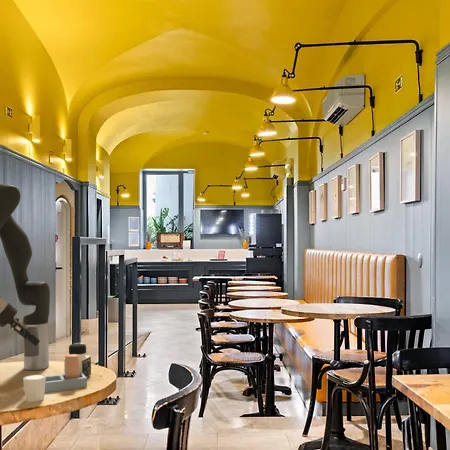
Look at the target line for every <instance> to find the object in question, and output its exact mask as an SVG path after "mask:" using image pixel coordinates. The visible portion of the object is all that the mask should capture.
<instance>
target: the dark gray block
mask: <svg viewBox="0 0 450 450" xmlns="http://www.w3.org/2000/svg"><path fill="white" fill-rule="evenodd" d="M26 327H27V328H28V331H30V332H31V333H32V334H33V335H34V336H35V337H36V338H37V339H39V335H38V325H28V326H26ZM26 334H27V332H25V333H24V335H26ZM37 355H39V343H38V344H37V345H36V346H35V345H34V344H32V343H31V342H30V341H29V340H28V339H24V338H23V357H24V356H26V357H33V356H37Z"/></svg>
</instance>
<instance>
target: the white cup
mask: <svg viewBox="0 0 450 450" xmlns="http://www.w3.org/2000/svg"><path fill="white" fill-rule="evenodd" d="M46 376H47V375H46V374H45V375H44V374H30V375H26V376H24V377H23V378H22V380H23V390H24V397H25V401H26V402H28V403H29V402H31V403H33V402H40V401H43V400H44V399H45V393H46V392H45V380H46Z"/></svg>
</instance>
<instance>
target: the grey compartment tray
mask: <svg viewBox="0 0 450 450" xmlns="http://www.w3.org/2000/svg"><path fill="white" fill-rule="evenodd" d="M64 360H65V374H64V373H61V374H55V375H53V374H52V375H45V376H46V380H45V393H48V392H56V391H63V390H65V391H66V390H72V389H81V388H82V389H83V388H87V387H88V377H86V376H85V375H84V374H83V373H82V372H80V355H77V354H71V355H69V354H66V355H65V356H64Z"/></svg>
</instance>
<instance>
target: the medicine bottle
mask: <svg viewBox="0 0 450 450" xmlns="http://www.w3.org/2000/svg"><path fill="white" fill-rule="evenodd" d="M71 354H77V355H80V372H82V373H83V374H84V375H85V376H86V377H87V378H88V377H90V376H91V375H92V357H91V355H87V345H86V344H85V343H82V342H76V343H71V344H70V345H68V355H71ZM63 363H64V366H63V367H64V368H63V369H64V371H63V372H64V373H63V374H65V359H64V360H63Z"/></svg>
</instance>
